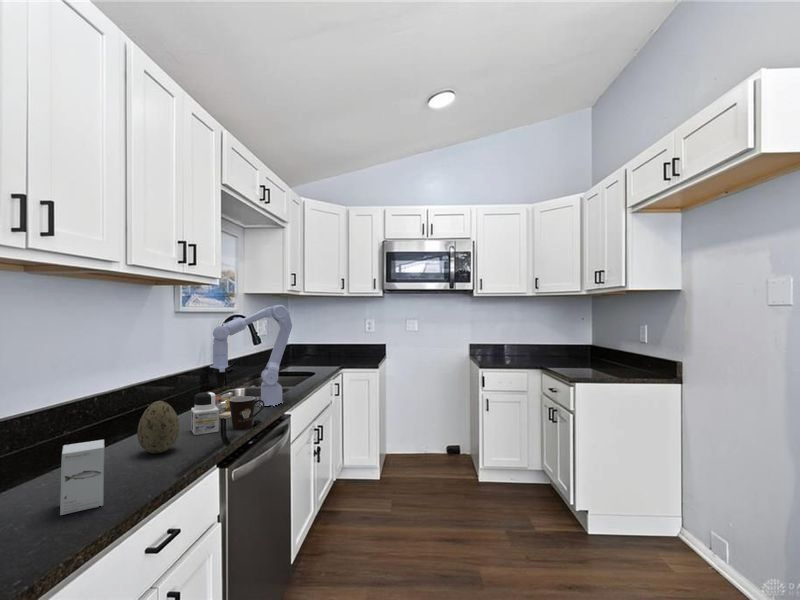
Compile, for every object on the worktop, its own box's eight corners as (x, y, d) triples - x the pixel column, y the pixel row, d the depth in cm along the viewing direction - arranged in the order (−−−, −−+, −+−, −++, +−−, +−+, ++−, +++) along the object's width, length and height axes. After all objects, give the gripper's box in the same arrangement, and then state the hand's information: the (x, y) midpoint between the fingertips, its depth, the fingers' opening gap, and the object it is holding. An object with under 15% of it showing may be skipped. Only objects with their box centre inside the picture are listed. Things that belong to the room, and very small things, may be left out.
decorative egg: (138, 461, 115) (139, 406, 116) (135, 451, 124) (136, 400, 124) (182, 453, 122) (182, 401, 122) (176, 444, 130) (176, 395, 131)
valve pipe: (236, 405, 178) (236, 392, 178) (245, 406, 177) (245, 393, 177) (211, 414, 163) (211, 400, 164) (220, 414, 162) (220, 400, 162)
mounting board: (226, 407, 180) (226, 404, 180) (252, 409, 176) (252, 406, 176) (198, 416, 164) (198, 413, 164) (226, 418, 161) (226, 415, 161)
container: (194, 435, 139) (194, 396, 140) (190, 430, 146) (191, 392, 146) (219, 431, 144) (219, 393, 144) (214, 426, 150) (215, 390, 150)
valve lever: (229, 395, 172) (229, 391, 172) (233, 395, 171) (233, 392, 171) (207, 401, 160) (207, 398, 160) (211, 401, 159) (211, 398, 159)
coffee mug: (227, 431, 144) (227, 402, 144) (230, 425, 152) (230, 397, 152) (263, 428, 147) (263, 400, 147) (264, 422, 155) (264, 395, 155)
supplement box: (59, 517, 85) (60, 453, 85) (61, 503, 91) (62, 444, 91) (104, 506, 89) (104, 446, 89) (103, 494, 95) (104, 438, 95)
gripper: (208, 353, 180) (208, 385, 180) (211, 356, 168) (211, 391, 167) (226, 352, 184) (226, 383, 183) (230, 355, 171) (230, 389, 171)
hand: (220, 387), depth 175 cm, fingers closed
